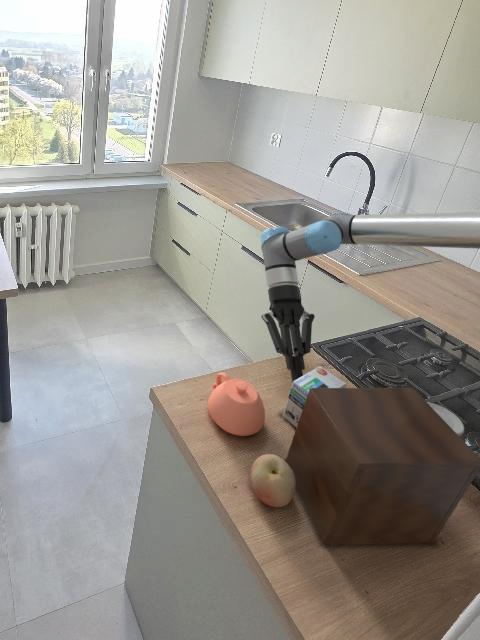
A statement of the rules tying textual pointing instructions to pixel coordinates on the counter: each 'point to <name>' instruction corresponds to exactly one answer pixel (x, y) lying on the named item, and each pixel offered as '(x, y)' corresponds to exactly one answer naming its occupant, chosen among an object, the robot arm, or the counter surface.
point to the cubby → (378, 466)
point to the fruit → (272, 480)
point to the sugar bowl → (236, 406)
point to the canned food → (449, 418)
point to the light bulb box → (301, 390)
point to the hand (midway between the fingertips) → (298, 384)
